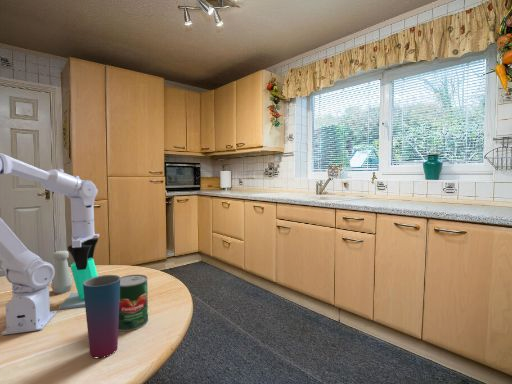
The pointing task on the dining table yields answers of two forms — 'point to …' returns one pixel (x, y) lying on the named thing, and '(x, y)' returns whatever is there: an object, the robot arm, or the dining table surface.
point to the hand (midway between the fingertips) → (85, 266)
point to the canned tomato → (133, 302)
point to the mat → (73, 302)
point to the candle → (83, 275)
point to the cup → (102, 313)
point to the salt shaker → (61, 273)
